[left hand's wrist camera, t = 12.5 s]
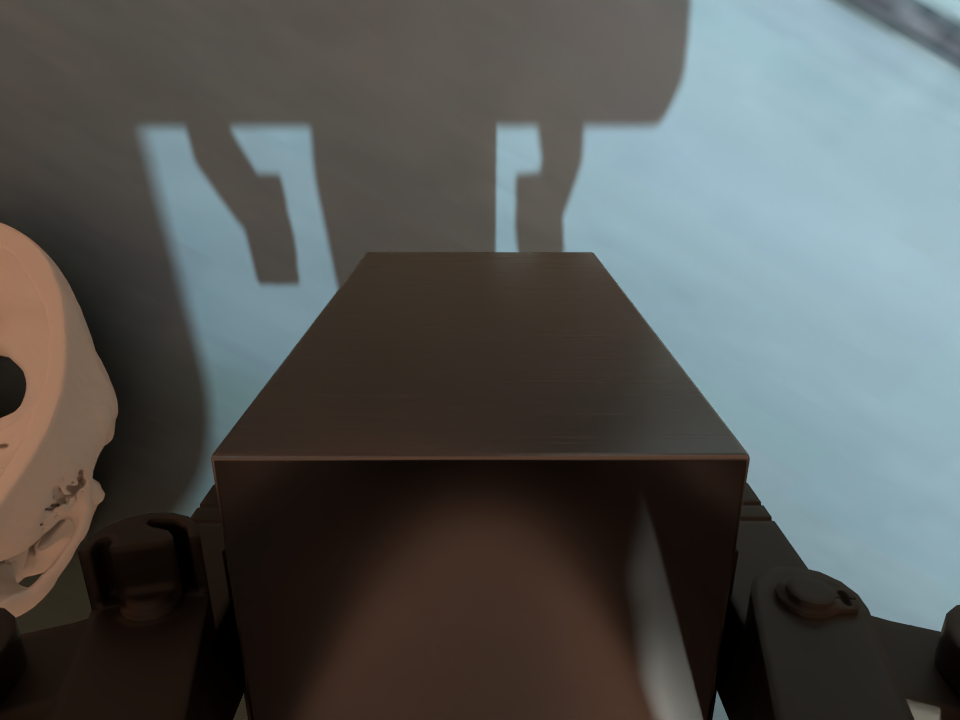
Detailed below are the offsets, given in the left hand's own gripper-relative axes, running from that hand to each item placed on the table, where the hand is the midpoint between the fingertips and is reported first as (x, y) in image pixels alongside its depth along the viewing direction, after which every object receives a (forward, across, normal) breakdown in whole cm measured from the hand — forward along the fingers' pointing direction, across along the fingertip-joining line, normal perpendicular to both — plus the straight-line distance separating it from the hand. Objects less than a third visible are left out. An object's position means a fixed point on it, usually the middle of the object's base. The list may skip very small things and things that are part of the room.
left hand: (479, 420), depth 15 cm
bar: (+1, 0, -9) cm, 9 cm away
